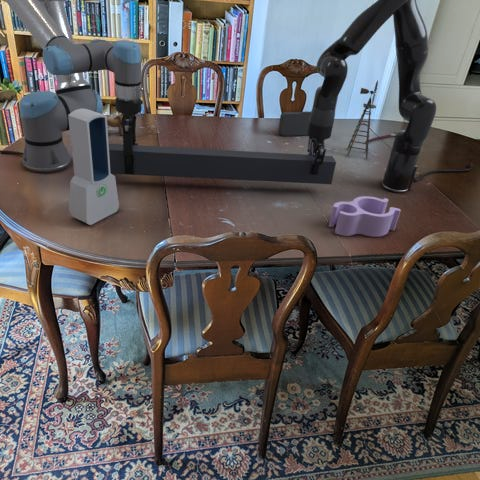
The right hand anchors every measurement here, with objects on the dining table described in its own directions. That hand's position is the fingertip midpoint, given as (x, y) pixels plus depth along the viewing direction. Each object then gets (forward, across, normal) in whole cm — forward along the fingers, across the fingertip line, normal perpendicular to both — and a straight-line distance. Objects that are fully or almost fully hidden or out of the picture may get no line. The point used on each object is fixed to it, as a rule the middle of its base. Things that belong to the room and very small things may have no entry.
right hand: (312, 170), depth 156 cm
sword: (+8, +58, -49) cm, 77 cm away
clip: (+8, -22, -12) cm, 26 cm away
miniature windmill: (+8, +37, -28) cm, 47 cm away
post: (+4, 0, +30) cm, 30 cm away
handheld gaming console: (+8, +56, -9) cm, 58 cm away
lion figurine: (+8, +44, +71) cm, 84 cm away
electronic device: (+8, -21, +67) cm, 71 cm away
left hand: (+3, 0, +60) cm, 60 cm away
